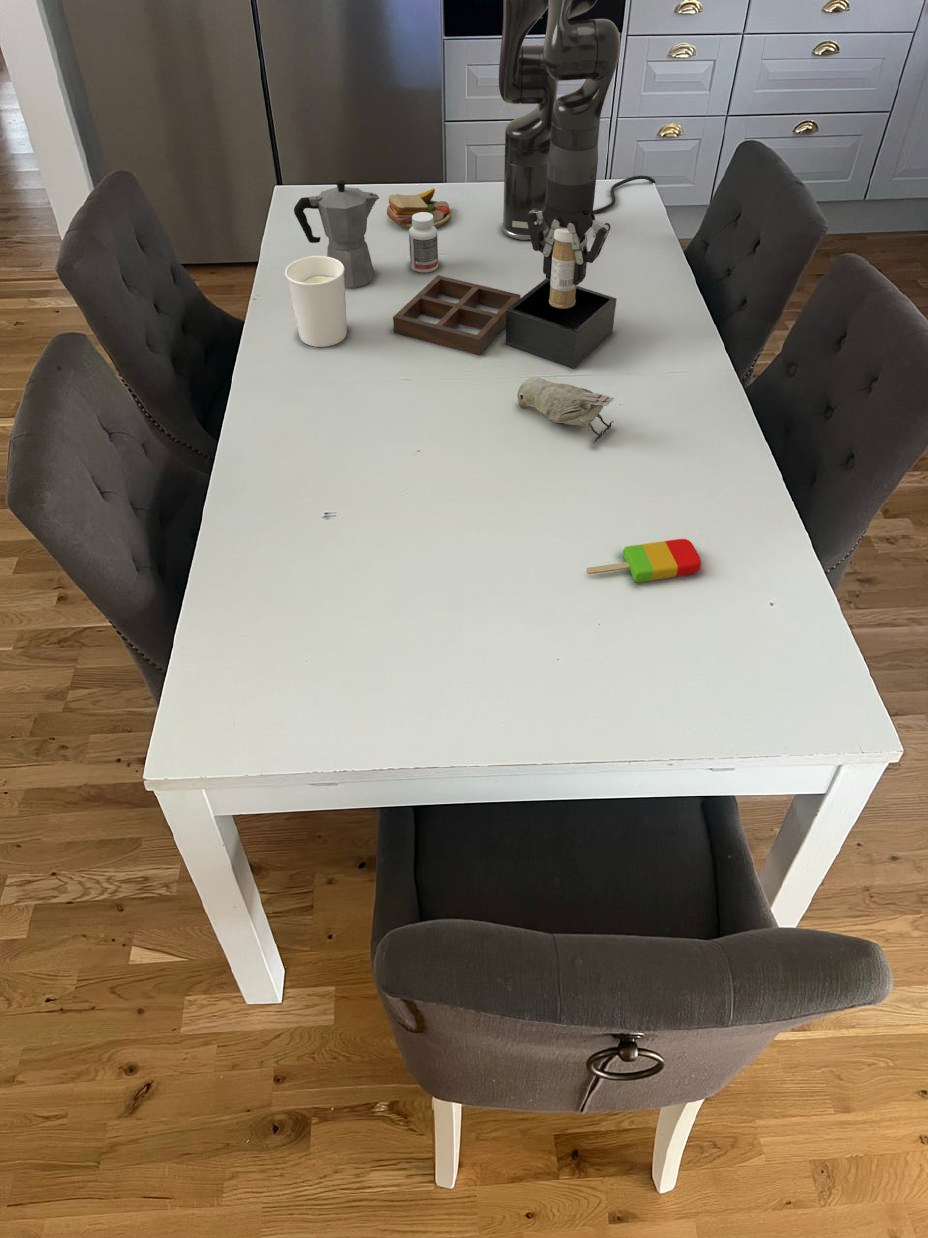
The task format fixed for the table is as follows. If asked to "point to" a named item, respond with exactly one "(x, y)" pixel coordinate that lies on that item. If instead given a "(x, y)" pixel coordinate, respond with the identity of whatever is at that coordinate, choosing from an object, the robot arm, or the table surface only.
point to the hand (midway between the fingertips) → (563, 279)
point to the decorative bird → (564, 402)
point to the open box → (560, 324)
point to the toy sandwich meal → (417, 208)
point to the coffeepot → (343, 228)
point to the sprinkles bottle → (562, 270)
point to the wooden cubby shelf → (455, 314)
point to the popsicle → (656, 560)
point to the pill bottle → (423, 243)
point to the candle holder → (318, 299)
